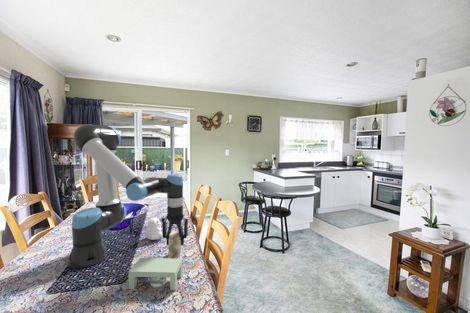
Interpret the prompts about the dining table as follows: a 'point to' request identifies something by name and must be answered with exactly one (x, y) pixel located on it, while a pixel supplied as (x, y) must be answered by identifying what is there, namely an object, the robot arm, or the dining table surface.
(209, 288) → the dining table surface
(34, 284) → the dining table surface
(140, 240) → the dining table surface
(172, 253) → the pusher
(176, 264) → the footstool
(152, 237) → the figurine
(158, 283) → the token
